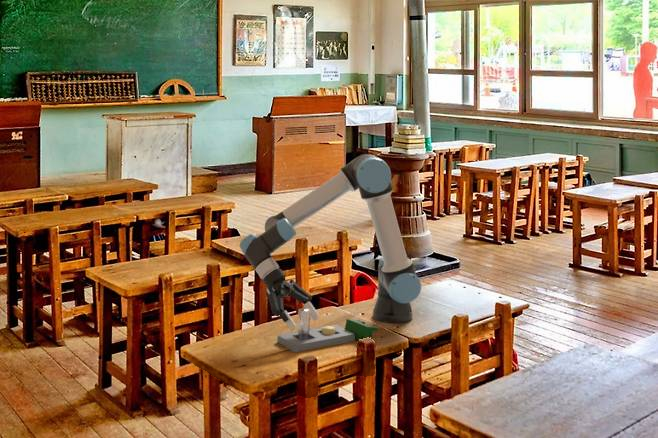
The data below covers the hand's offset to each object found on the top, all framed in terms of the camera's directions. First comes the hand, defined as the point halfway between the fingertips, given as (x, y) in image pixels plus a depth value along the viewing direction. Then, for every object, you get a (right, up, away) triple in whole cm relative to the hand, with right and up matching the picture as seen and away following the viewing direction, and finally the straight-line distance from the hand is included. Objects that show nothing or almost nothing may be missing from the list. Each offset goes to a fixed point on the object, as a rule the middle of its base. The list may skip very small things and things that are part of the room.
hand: (305, 323), depth 279 cm
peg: (-1, -7, +2) cm, 7 cm away
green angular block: (+19, -7, +10) cm, 23 cm away
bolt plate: (+3, -7, +5) cm, 9 cm away
